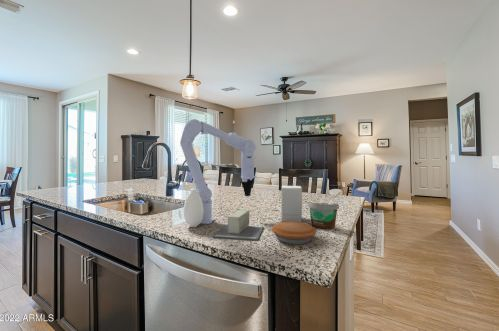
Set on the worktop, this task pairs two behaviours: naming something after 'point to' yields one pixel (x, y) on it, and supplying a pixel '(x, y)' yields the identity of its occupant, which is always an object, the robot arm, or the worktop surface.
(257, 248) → the worktop surface
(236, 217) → the skincare box
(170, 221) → the worktop surface
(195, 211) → the white ellipsoid
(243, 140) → the robot arm
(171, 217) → the worktop surface
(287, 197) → the supplement box
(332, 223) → the food container
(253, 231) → the mat
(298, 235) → the pie
